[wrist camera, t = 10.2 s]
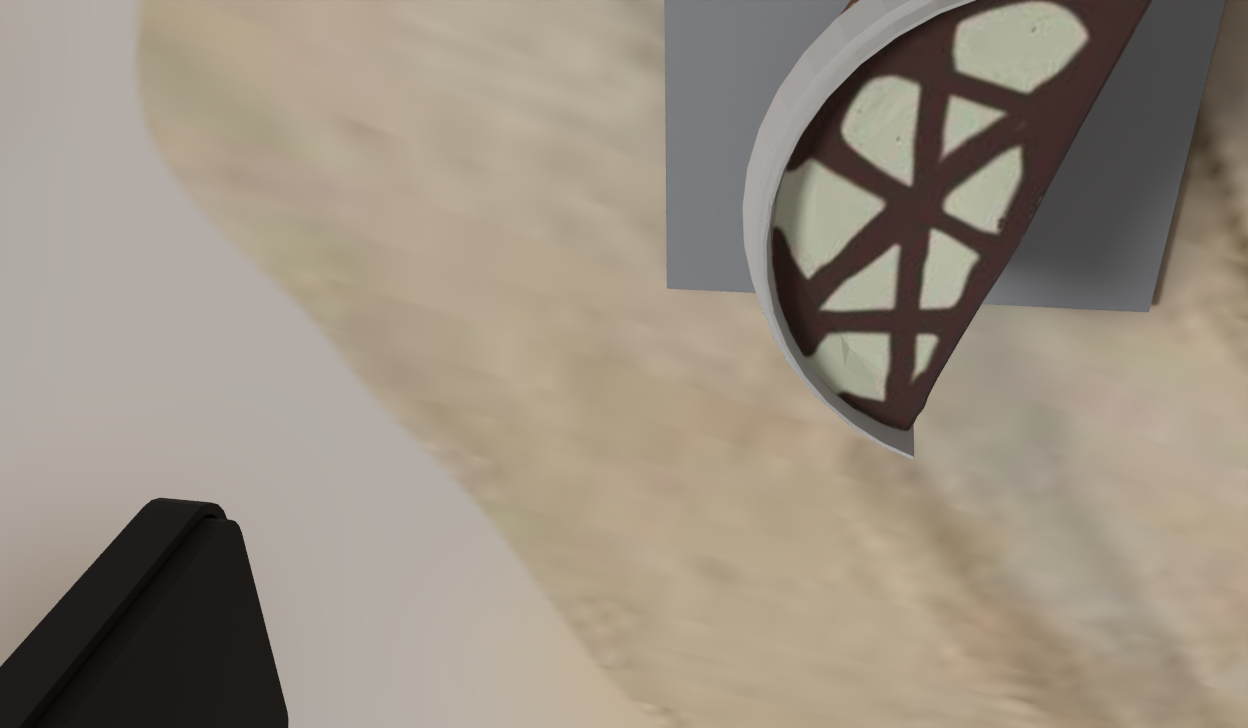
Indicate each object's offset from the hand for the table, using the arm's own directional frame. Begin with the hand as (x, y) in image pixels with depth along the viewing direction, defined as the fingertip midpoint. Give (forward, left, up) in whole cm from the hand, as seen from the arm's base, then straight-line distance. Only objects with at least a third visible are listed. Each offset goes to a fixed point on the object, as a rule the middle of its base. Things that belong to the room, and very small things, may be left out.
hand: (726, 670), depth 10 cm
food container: (-1, -2, -25) cm, 25 cm away
